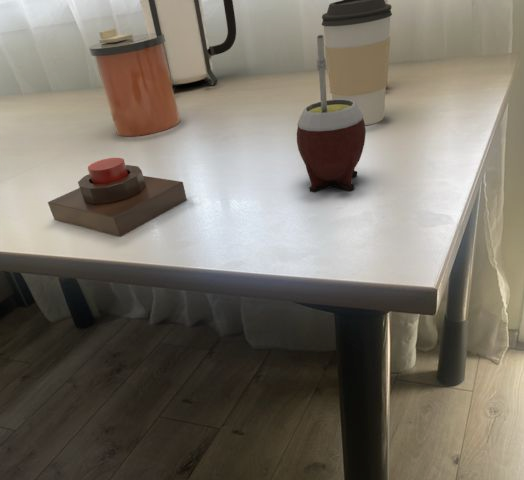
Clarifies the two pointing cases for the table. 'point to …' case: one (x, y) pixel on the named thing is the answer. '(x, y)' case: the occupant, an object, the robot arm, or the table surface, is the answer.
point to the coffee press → (187, 37)
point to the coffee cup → (358, 53)
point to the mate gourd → (330, 137)
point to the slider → (112, 36)
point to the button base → (118, 202)
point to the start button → (107, 170)
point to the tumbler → (137, 84)
